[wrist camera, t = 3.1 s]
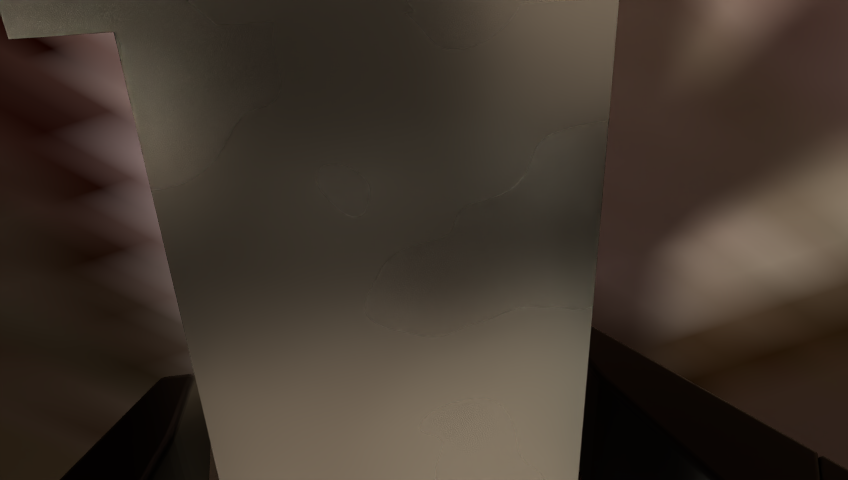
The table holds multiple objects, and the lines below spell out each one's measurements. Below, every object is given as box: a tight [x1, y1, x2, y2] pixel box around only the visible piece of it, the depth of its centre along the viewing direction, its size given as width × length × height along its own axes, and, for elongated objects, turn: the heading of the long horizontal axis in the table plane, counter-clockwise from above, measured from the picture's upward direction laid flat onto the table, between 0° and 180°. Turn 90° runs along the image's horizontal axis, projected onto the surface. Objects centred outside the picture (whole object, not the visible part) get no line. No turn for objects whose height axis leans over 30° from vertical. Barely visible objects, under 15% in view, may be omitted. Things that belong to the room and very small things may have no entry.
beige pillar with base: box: [0, 0, 619, 480], centre depth 9 cm, size 4×16×4 cm, turn 2°
